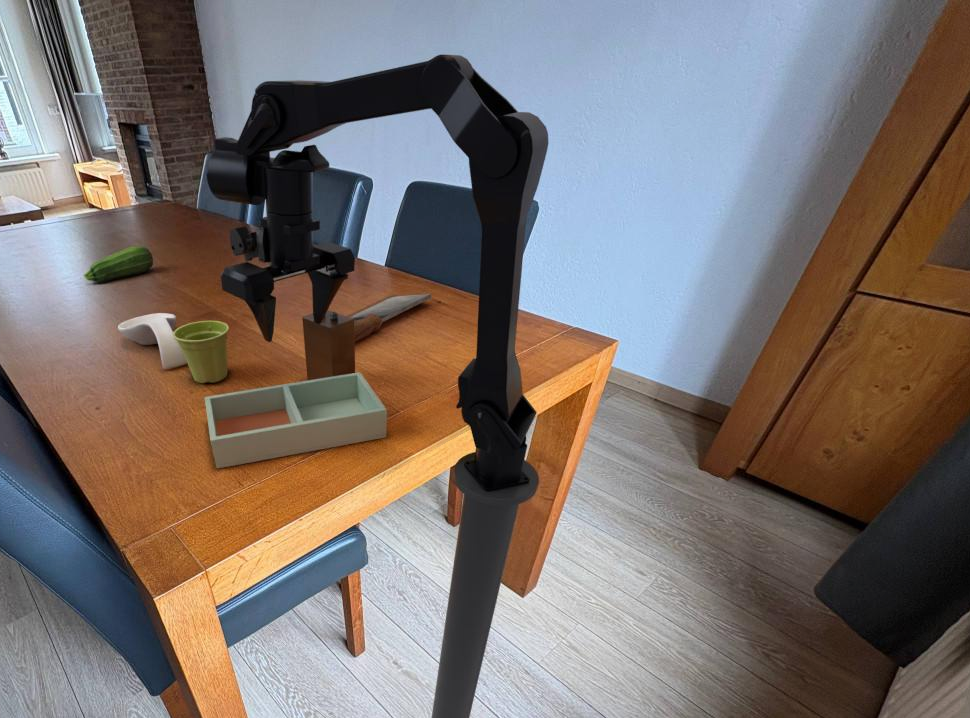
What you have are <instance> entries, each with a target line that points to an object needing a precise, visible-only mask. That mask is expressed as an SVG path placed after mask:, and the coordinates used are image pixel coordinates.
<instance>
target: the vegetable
mask: <svg viewBox="0 0 970 718" xmlns="http://www.w3.org/2000/svg"><path fill="white" fill-rule="evenodd" d="M153 265H154V258H153V254H152V252H151V251H150V250H149V248H147V247H145V246H143V245H132V246H129V247H127V248H124V249H122V250H120V251H117V252H115V253H113V254H111V255H108V256H106V257H104V258H102V259H99V260H98V261H95V262H94V263H92V264H91V265H90V267H89V270H88V271H86V273H85V274H83V277H84V278H85V280H87V281H88V282H95V283H98V284H104V283H107V282H110V281H112V280H115V279H120V278H123V277H124V278H125V277H130V276H137V275H140V274H143V273H146V272H147V271H149V270H151V268H152V267H153Z"/></svg>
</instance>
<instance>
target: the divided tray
mask: <svg viewBox="0 0 970 718" xmlns="http://www.w3.org/2000/svg"><path fill="white" fill-rule="evenodd" d="M204 403H205V410H206V419H207V424H208V432H209V433H208V434H209V439H210V440H209V441H210V444H211V449H212V454H213V458H214V462H215V466H216V469H222V468H223V469H224V468H227V467H234V466H240V465H244V464H250V463H255V462H256V463H257V462H261V461H266V460H272V459H277V458H282V457H289V456H291V455H292V456H293V455H299V454H305V453H309V452H315V451H320V450H324V449H330V448H336V447H341V446H347V445H353V444H357V443H363V442H368V441H374V440H378V439H380V440H381V439H384V438H387V429H388V426H387V425H388V423H387V422H388V409H387V408H386V406H385V405H384V403H383V402H382V401H381V399H380V397H378V395H377V393H376V392H375V391H374V389H373V388H372V387H371V385H370V384H369V383H368V381H367V379H366V378H365V377H364V376H363V374H362V372H360V371H359V372H355V373H352V374H346V375H340V376H333V377H327V378H321V379H314V380H303V381H296V382H290V383H283V384H278V385H271V386H265V387H257V388H252V389H246V390H239V391H234V392H233V391H232V392H228V393H221V394H214V395H209V396H204Z"/></svg>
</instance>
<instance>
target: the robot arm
mask: <svg viewBox="0 0 970 718" xmlns="http://www.w3.org/2000/svg"><path fill="white" fill-rule="evenodd" d="M426 110H432V111H433V112H434V113H435V114H436V115H437V117H438V118H439V120H440V121H441V123H442V125H443V126H444V128H445V130H446V131H447V133H448V135H449V136H450V138H451V140H452V141H453V143H454V144H455V145H456V146H457V147H458V148H459V149H460V150H461V151H462V152H463V154H464V155H466V157H467V158H468V166H469V167H468V168H469V176H470V184H471V190H472V191H471V193H472V198H473V202H474V205H475V208H476V211H477V215H478V218H479V222H480V225H481V240H480V241H481V244H480V263H479V264H480V267H479V287H478V289H479V290H478V292H479V293H478V308H477V309H478V310H477V332H476V333H477V334H476V355H475V358H474V357H473V358H472V360H470V362H469V363H468V364H467V366H466V367H465V368H464V369H463V370H462V372H461V373H460V374H459V376H458V377H457V387H458V394H459V396H458V401H457V403H456V406H455V408H456V409H461V418H462V420H463V422H464V423H465V424H467V426H469V427H470V431H471V434H472V438H473V444H474V446H475V451H474V452H475V460H471V461H466V462H465V463H464V467H465V468H466V469H467V470H468V471H469V473H470V474H471V475H472V476H473V478H474V479H475V480H476V481H477V482H478V484H479V485H480V486H481V487H482V489H483V490H484V491H486V492H490V491H495V490H500V489H504V488H509V487H514V486H518V485H523V484H528V483H529V481H530V478H529V477H528V476H527V475H526V474H525V473H524V472H523V471H522V468H523V463H524V460H526V459H525V458H526V455H527V449H528V443H527V434H528V432H529V430H530V428H531V426H532V423H534V419H535V417H536V415H537V411H536V409H535V408H534V407H533V406H532V404H531V403H530V402H529V401H528V398H526V396H525V395H524V394H523V382H522V371H521V367H520V363H519V360H518V356H517V354H516V340H517V328H518V319H519V317H518V316H519V308H520V307H519V305H520V297H521V296H520V294H521V284H522V272H523V261H524V260H523V259H524V250H525V241H526V240H525V238H526V229H527V228H526V227H527V220H528V216H529V213H530V211H531V207H532V204H533V201H534V199H535V195H536V193H537V190H538V186H539V184H540V181H541V176H542V171H543V169H544V165H545V161H546V157H547V153H548V148H549V132H548V129H547V126H546V125H545V124H544V122H543V121H542V120H541V119H540V118H539V117H538V115H535V114H533V113H531V112H528V111H518V109H516V108H515V106H514V105H513V104H512V103H511V102H510V101H509V100H508V99H507V98H506V97H505V96H504V95H503V94H501V93H500V92H499V91H498V90H497V89H496V88H494V86H492V84H490V83H489V82H487V80H486V79H484V77H482V76H481V75H480V74H479V73H478V72H477V71H476V69H475V68H474V67H473V65H472V64H471V62H470V61H469V59H468V58H466V57H465V56H463V55H460V54H459V55H458V54H437V55H435V56H434V57H432V58H431V59H429V60H426V61H421V62H417V63H412V64H406V65H403V66H398V67H392V68H389V69H384V70H380V71H375V72H371V73H365V74H360V75H357V76H352V77H348V78H343V79H339V80H334V81H323V80H302V79H301V80H300V79H298V80H266V81H263V82H261V83H260V84H258V86H256V88H255V89H254V95H253V96H252V101H251V109H250V112H249V114H248V117H247V119H246V122H245V123H244V126H243V129H242V130H241V132H240V135H239V137H238V139H237V138H233V137H229V136H224V137H217V138H214V140H213V141H214V149H215V150H214V151H213V152H212V154H211V155H210V158H209V161H208V164H207V170H206V172H205V173H206V181H207V186H208V189H209V191H210V192H211V194H212V195H213V196H214V198H215V199H218V200H219V201H221V200H222V201H227V202H233V203H239V204H245V205H251V206H261V205H262V204H263V203H264V202H265V212H266V213H265V214H266V216H262V217H260V219H259V223H258V224H259V229H258V230H257V231H251V232H250V230H249V229H248V227H247V226H245V225H244V226H240V227H236V228H231V229H229V244H230V245H229V246H230V248H231V252H232V254H233V255H234V256H235V257H239V256H243V257H244V262H241V263H238V264H233V265H228V266H225V267H224V268H223V270H222V272H221V273H220V274H221V276H220V283H221V290H222V291H223V292H226V293H227V294H230V295H232V296H234V297H236V298H238V299H241V300H242V301H244V302H245V303H246V305H247V306H248V308H249V310H250V311H251V314H252V315H253V317H254V319H255V321H256V323H257V326H258V329H259V330H260V333H261V335H262V337H263V339H264V340H265V341H266V342H268V343H271V342H272V341H273V337H274V331H275V330H274V329H275V320H276V319H275V317H276V306H277V305H276V304H277V296H274V295H272V294H273V291H274V290H275V283H276V282H279V281H283V280H285V279H289V278H294V277H296V276H301V275H305V274H307V275H308V278H309V280H310V283H311V291H312V292H311V293H312V294H311V295H312V297H311V298H312V313H313V316H314V322H315V323H317V324H321V322H322V320H323V318H324V316H325V314H326V312H327V310H329V309H330V306H331V304H332V302H333V300H334V298H335V297H336V295H337V293H338V291H339V290H340V288H341V286H342V284H343V283H344V282H345V280H348V278H349V273H351V272H355V266H356V261H355V260H356V256H355V254H354V253H353V251H352V249H351V248H350V247H346V246H343V245H340V244H336V243H333V242H329V241H327V242H323V243H318V244H314V231H320V229H321V225H320V224H321V221H320V220H319V219H315V218H314V202H313V201H314V199H313V198H314V189H313V187H314V183H313V180H314V178H313V177H314V176H313V173H316V172H319V171H323V170H327V169H329V168H330V162H329V161H328V159H327V158H326V157H325V156H324V155H323V154H322V153H321V152H320V150H319V149H318V146H317V145H316V144H310V145H305V146H303V147H302V149H301V151H297V150H289V148H291V147H292V146H293V145H294V144H300V143H305V142H309V141H311V140H313V139H315V138H318V137H320V136H322V135H324V134H327V133H329V132H331V131H333V130H335V129H336V128H338V127H341V126H343V125H345V124H349V123H354V122H360V121H366V120H367V121H368V120H372V119H379V118H384V117H389V116H395V115H401V114H407V113H414V112H419V111H426ZM276 151H279V152H277V154H276V155H275V157H271V152H276ZM255 258H258V261H259V262H261V263H264V264H265V263H268V264H269V266H265V267H261V266H259V265H256V264H254V263H251V262H250V261H253V259H255Z"/></svg>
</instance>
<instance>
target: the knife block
mask: <svg viewBox="0 0 970 718" xmlns="http://www.w3.org/2000/svg"><path fill="white" fill-rule="evenodd" d="M350 317H351V316H347V315H344V314H342V313H338V312H336V311H332V310H330V309H328V310H327V312H326V314H325V316H324V318H323V320H322V322H321V324H317V323H315V322H314V316H313V312H312V313H309V314H306V315H304V316H302V317H301V320H302V331H303V343H304V355H305V366H306V379H307V380H306V381H308V380H314V379H321V378H327V377H333V376H340V375H346V374H352V373H356V344H355V343H356V342H355V334H354V322H355V321H354V319H353V318H350Z"/></svg>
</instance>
